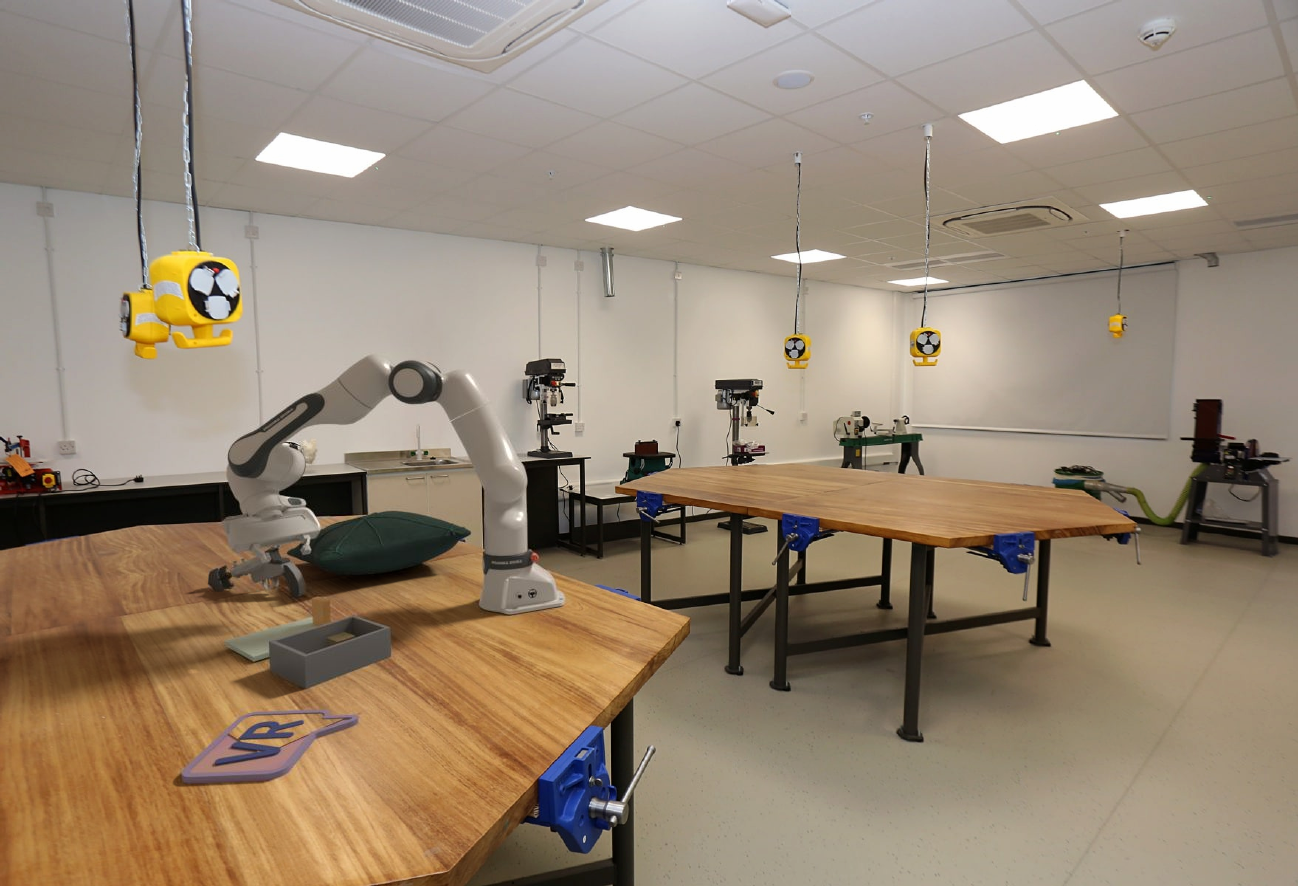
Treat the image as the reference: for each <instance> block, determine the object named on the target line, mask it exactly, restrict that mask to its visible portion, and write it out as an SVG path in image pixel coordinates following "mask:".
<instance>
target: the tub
mask: <svg viewBox="0 0 1298 886" xmlns="http://www.w3.org/2000/svg"><path fill="white" fill-rule="evenodd" d="M391 630H392V629H391V627H390V626H387V625H384V624H382V623H378V622H374V621H373V620H369V619H366V618H364V617H360V616H357V615H351V616H347V617H344V618H341V619H337V620H334V621H331V623H327V624H324V625H321V626H318V627H314V628H311V629H308V630H304V631H301V632H298V633H295V634H291V635H288V636H285V637H282V638H278V639H275V640H272V641H269V657H268V658H269V673H271V674H273V675H275V676H276V677H277V676H278V677H279V678H282V679H283V680H285V681H288V682H290V683H292V684H294V685H296V686H298V687H300V688H302V689H304V690H308V689H311V688H312V687H316V686H318V685H320V684H324V683H326V682H329V681H331V680H334V679H336V678H339V677H342V676H344V675H347V674H349V673H351V672H355V671H358V670H360V669H363V668H365V667H368V666H370V665H373V664H376V663H378V662H382V661H383V660H386V659H388V658H392V642H391V641H392V638H391V637H392V635H391V634H392V633H391ZM343 632H346V633H349V634H352V635H354V636H355V637H356V638H353V639H350V640H347V641H344V642H341V643H338V644H336V645H333V646H330V647H327V640H326V638H327V637H330V636H333V635H337V634H340V633H343Z"/></svg>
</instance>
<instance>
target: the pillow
mask: <svg viewBox="0 0 1298 886" xmlns="http://www.w3.org/2000/svg"><path fill="white" fill-rule="evenodd" d="M471 534H472V531H471V530H469V529H468V528H467V527H465V526H459V525H458V524H454V523H451V522H448V521H446V520H443V519H441V518H437V517H432V516H429V515H425V514H420V513H416V512H411V511H403V510H402V511H399V510H385V511H379V512H372V513H370V514H366V515H362V516H359V517H354V518H351V519H347V520H343V521H338V522H336V523H332V524H330V525H327V526H325V527H324V528H321V530H320V532H319V534H318V536H317V537H316V538H314V539H310V543H309V546H310V548H311V552H310V554H306V555H303V554H302V552H301V548H302V546H304V544H302V543H301V542H300V543H299V544H298V545H296V546H295V547H294V548H291V549H289V550H288V551H287V552H286V555H288V556H290V557H293V558H295V559H297V560H300V561H302V562H306V563H308V564H311V565H314V566H317V567H318V568H320V569H322V570H323V571H326V572H328V573H330V574H331V573H332V574H338V575H348V576H349V575H351V576H352V575H354V576H356V575H357V576H360V575H361V576H363V575H375V574H376V575H377V574H384V573H388V572H394V571H399V570H403V569H406V568H410V567H414V566H416V565H420V564H424V563H425V562H428V561H430V560H432V559H435V558H437V557H439V556H441V555H443V554H445V553H447V552H449V551H450V550H451V549H453V548H454V547H455V546H456V545H457V544H458V542H459V541H462V540H463V539H465V538H467V537H469V536H471Z"/></svg>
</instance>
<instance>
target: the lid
mask: <svg viewBox="0 0 1298 886" xmlns="http://www.w3.org/2000/svg"><path fill="white" fill-rule="evenodd" d="M311 609H312V611H311V612H312V615H311V616H309V617H307V618H303V619H299V620H295V621H292V622H288V623H285V624H281V625H277V626H273V627H270V628H266V629H263V630H259V631H255V632H252V633H248V634H244V635H241V636H237V637H234V638H230V639H226V640H223V641H224V646H225V647H227V648H229V649H231V651H234V652H235V653H238V654H239V655H241V656H243V657H244V658H246V659H248V660H250V661H251V662H257V661H260V660H264V659H267V658H270V657H269V641H272V640H275V639H278V638H282V637H285V636H288V635H291V634H295V633H298V632H301V631H304V630H308V629H311V628H314V627H318V626H321V625H324V624H327V623H331V622H332V621H331V601H330V600H329V599H326V598H325V597H324V598H323V597H321V596H315V597H312V598H311Z"/></svg>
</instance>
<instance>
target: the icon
mask: <svg viewBox="0 0 1298 886" xmlns="http://www.w3.org/2000/svg"><path fill="white" fill-rule="evenodd" d="M304 714H305V715H306V714H323V716H322V718H321V720H332V719H333V720H334V719H335V720H336V719H339V720H337V721H335V722H333V723H331V724H329V725H327V726H324V727H322V728H319V729H316V730H313V731H311V732H309V733H308V734H305V735H304V736H302V737H299V738H297V739H295V740H292V741H290V742H288V743H285V744H283V745H281V746H273V745H267V744H259V743H253V742H247V741H246V742H245V741H244V740H262V739H265V740H266V739H267V740H268V739H289V738H291V737H293V736H294V732H292V731H287V732H283V731H282V732H279V731H281V730H286V729H289V728H294V727H298V726H302V725H304V724H305V721H304V720H303V719H300V720H296V721H291V722H287V723H282V724H280V722H278V721H270V720H269V721H262V722H257V723H256V724H255V723H254V724H253V725H251V726H250V727H249V728H247V729H246V730H245V731H244V732H243V733H242V734H241V735H240V736H239V737H238V738H236V737H235V736H233V735H232V734H230V733H231V732H232V731H233V730H234V729H235V728H236V727H237V726H238V725H240V724H241V722H243V721H244V720H245V719H248V718H249V717H253V716H274V715H275V716H277V715H279V716H280V715H304ZM359 718H360V717H359V715H358V714H331V712H330V710H327V709H302V710H301V709H299V710H272V711H271V710H268V711H252V712H249V713H246V714H243V715H241V716H239V717H238V718H237V719H235V721H233V723H232V724H230V725H229V726H228V727H227V728H226V729H225V730H224V731H223V732H221V734H219V735H218V736H217V737H216V738H215V739H214V740H213V741H212V742H211V743H210V744H208V745H207V746H206V748H204V749H203V750H202V751H201V752H200V753H199V754H198V755H196V757H194V759H192V760H191V761H190V762H189V763H188V764H187V765H185V767H184V768H183V769H182V770H181V780H182V782H183V783H184V784H206V783H207V784H210V783H211V784H213V783H215V784H216V783H230V782H231V783H235V782H236V783H237V782H257V781H259V782H261V781H262V782H263V781H272V780H276V779H278V778H281V777H283V776H285V775H287V774H288V773H289V772H291V770H292V769H293V768H294V767H295V765H296V764H297V763H298V762H299V760H300V759H301V758H302V757H303V755H304V754H305V753H306V751H308V749H309V748H310V746H311V745H312V744H313V743H314V742H315V740H317V739H319V738H322V737H323V738H324V737H325V736H328V735H331V734H335V733H337V732H340V731H341V732H342V731H344V730H346V729H350V728H353V727H355V726H357V725H358V724H359V722H360V719H359ZM260 728H269V729H268V730H267V731H266V732H263V733H262V732H258V733H257V732H256V730H258V729H260ZM277 731H278V732H277ZM255 732H256V733H255ZM241 740H243V741H241Z"/></svg>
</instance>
